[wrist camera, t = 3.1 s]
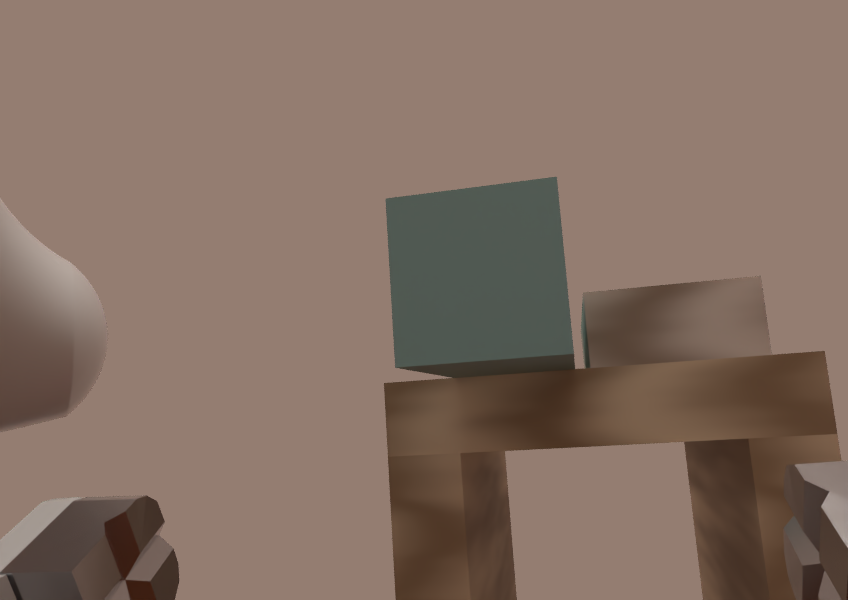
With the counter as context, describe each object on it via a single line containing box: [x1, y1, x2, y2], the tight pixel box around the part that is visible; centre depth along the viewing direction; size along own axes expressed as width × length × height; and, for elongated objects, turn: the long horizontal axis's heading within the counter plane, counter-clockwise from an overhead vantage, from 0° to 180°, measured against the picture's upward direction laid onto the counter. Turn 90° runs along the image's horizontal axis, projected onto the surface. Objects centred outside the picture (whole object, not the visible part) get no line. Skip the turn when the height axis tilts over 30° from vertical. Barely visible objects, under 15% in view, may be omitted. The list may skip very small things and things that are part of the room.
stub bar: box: [386, 177, 575, 378], centre depth 25 cm, size 4×20×4 cm, turn 168°
